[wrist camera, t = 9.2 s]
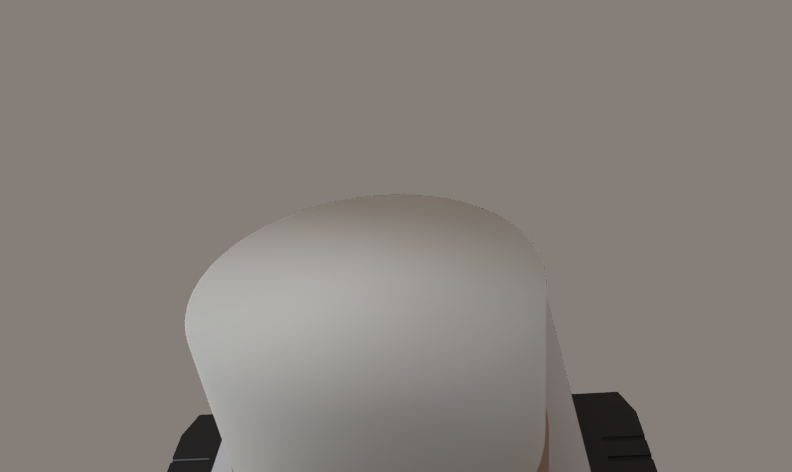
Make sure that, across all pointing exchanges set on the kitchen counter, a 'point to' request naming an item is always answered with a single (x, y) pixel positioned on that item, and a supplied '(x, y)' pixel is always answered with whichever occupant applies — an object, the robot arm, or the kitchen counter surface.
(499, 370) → the coin roll
